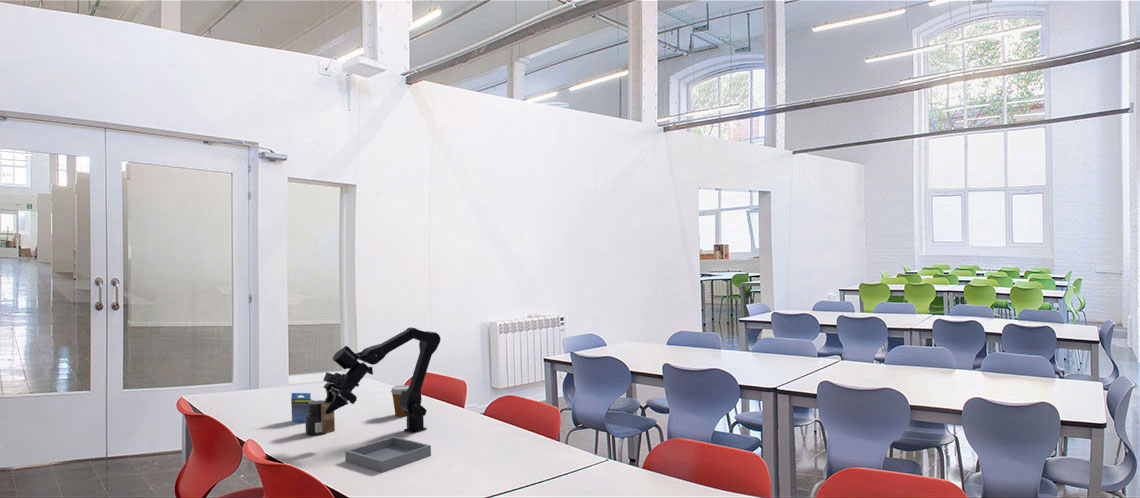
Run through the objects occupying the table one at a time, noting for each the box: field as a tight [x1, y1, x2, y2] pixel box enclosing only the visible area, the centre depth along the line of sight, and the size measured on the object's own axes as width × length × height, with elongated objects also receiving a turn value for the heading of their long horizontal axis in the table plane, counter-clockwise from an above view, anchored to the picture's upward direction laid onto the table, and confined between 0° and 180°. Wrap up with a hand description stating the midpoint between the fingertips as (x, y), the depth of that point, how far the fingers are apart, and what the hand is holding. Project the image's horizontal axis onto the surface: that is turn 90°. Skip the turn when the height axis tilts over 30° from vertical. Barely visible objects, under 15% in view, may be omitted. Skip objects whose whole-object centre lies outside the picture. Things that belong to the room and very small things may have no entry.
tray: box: [344, 436, 432, 473], centre depth 219 cm, size 20×20×4 cm
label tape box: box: [290, 392, 316, 423], centre depth 272 cm, size 9×4×12 cm, turn 84°
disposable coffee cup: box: [390, 384, 410, 418], centre depth 278 cm, size 10×10×12 cm
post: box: [321, 402, 336, 434], centre depth 231 cm, size 4×4×10 cm
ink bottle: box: [304, 399, 326, 436], centre depth 253 cm, size 10×9×12 cm
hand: (323, 412), depth 231 cm, fingers closed on post, 4 cm apart
